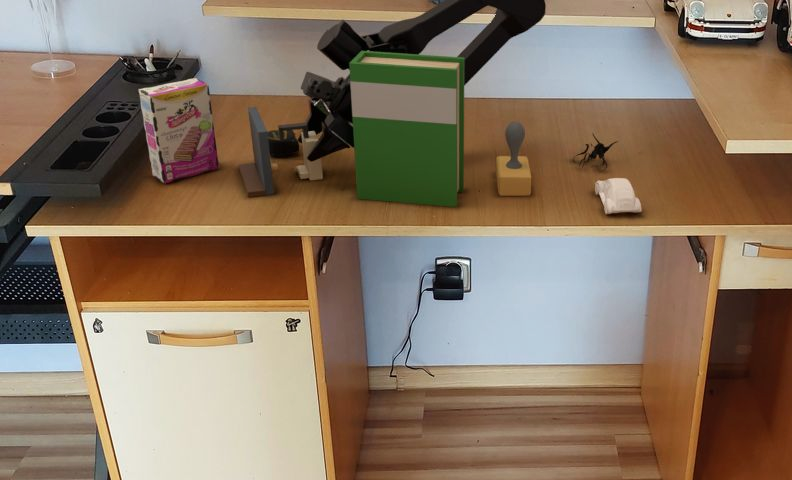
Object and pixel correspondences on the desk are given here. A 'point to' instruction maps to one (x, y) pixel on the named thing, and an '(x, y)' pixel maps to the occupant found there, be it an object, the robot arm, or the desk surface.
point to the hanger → (305, 151)
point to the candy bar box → (179, 129)
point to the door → (258, 160)
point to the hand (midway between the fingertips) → (304, 150)
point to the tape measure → (282, 143)
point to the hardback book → (408, 127)
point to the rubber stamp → (513, 165)
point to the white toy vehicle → (617, 196)
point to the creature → (596, 152)
